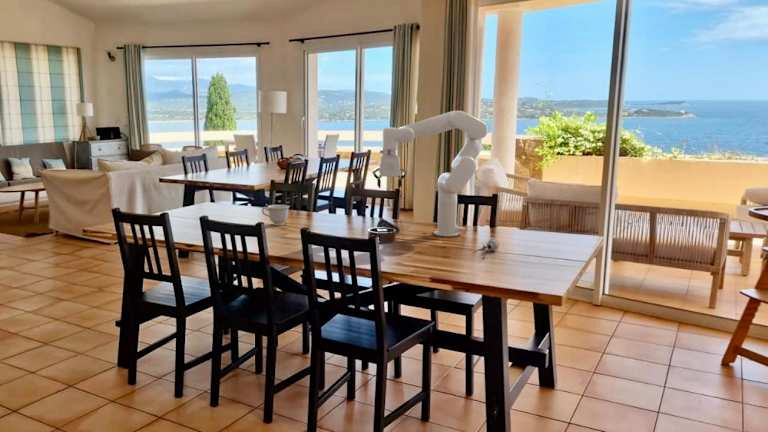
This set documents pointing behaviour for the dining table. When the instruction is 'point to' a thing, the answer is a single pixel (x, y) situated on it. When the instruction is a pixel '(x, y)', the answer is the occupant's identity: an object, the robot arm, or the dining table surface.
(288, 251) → the dining table surface
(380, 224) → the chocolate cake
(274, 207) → the teacup
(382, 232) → the green cube
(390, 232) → the bowl
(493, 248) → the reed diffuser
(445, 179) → the robot arm
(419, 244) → the dining table surface
